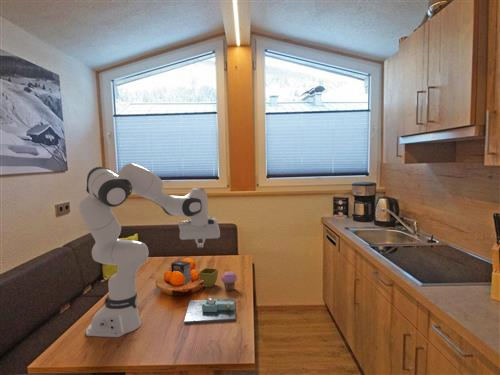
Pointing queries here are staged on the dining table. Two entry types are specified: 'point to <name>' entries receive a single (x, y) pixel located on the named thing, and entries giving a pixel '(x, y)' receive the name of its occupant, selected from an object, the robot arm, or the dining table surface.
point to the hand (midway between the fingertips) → (200, 247)
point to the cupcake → (229, 280)
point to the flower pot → (208, 276)
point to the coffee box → (182, 269)
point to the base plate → (198, 316)
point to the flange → (216, 306)
